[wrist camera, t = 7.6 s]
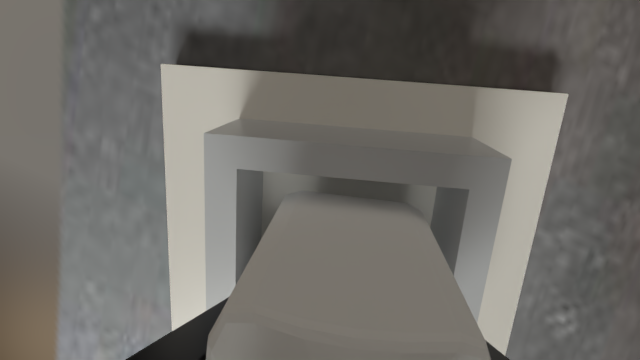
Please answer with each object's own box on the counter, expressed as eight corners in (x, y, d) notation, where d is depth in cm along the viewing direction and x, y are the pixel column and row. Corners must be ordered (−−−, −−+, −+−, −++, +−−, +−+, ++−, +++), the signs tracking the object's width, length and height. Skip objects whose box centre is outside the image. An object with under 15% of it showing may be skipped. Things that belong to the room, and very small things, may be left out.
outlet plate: (455, 511, 17) (484, 639, 13) (188, 474, 18) (142, 586, 14) (551, 92, 12) (645, 102, 8) (175, 64, 13) (97, 61, 9)
